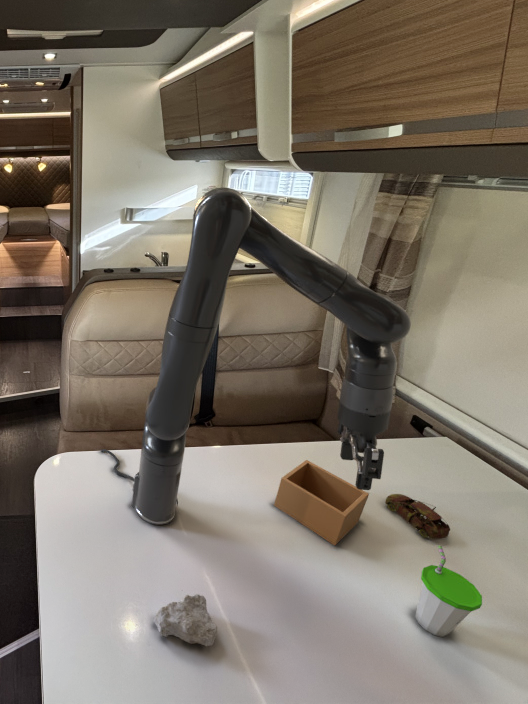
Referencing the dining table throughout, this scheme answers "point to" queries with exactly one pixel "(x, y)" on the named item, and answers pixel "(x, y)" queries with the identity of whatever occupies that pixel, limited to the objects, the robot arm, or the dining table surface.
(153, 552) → the dining table surface
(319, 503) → the box
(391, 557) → the dining table surface
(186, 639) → the stone
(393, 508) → the toy car
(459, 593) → the cup
